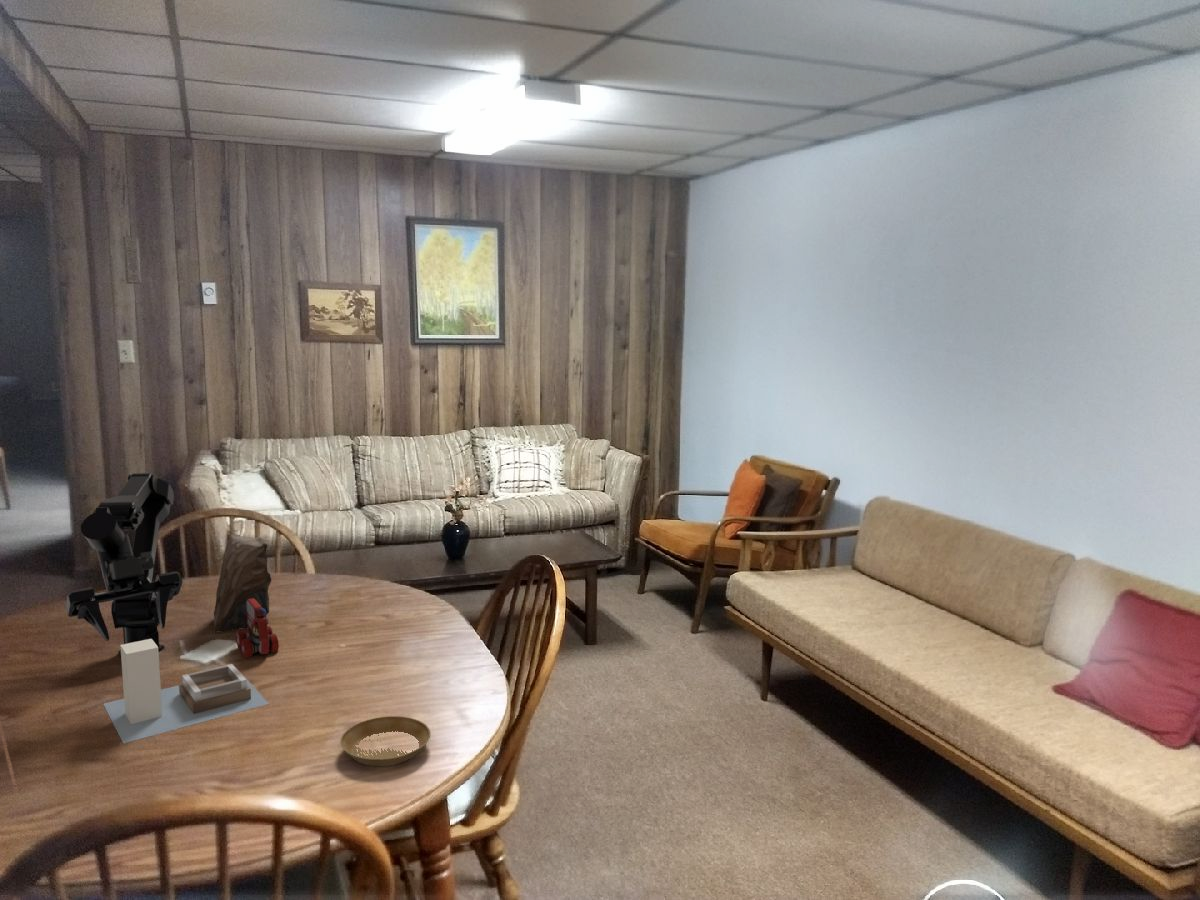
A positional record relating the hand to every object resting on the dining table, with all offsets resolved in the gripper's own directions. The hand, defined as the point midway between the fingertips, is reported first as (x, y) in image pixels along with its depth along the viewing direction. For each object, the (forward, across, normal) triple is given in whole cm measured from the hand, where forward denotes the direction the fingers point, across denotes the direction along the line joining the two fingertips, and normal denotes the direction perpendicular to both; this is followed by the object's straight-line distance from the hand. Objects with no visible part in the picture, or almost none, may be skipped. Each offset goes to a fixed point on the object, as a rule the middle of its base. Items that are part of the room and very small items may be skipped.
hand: (136, 633), depth 154 cm
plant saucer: (+40, +27, -23) cm, 54 cm away
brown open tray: (+15, +11, +3) cm, 18 cm away
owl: (-10, +27, +31) cm, 42 cm away
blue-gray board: (+15, +6, +4) cm, 16 cm away
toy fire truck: (+3, +25, +17) cm, 30 cm away
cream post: (+14, -1, +3) cm, 15 cm away
